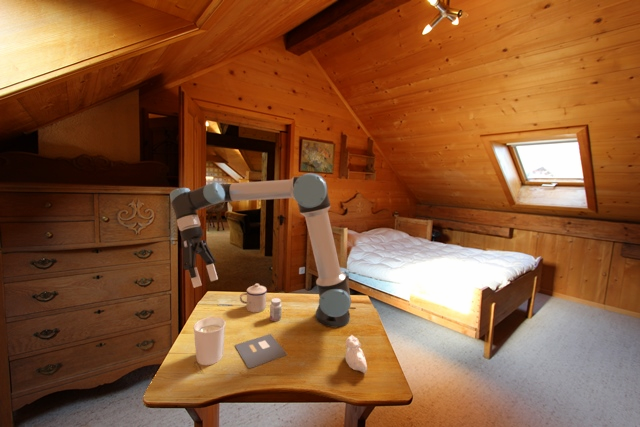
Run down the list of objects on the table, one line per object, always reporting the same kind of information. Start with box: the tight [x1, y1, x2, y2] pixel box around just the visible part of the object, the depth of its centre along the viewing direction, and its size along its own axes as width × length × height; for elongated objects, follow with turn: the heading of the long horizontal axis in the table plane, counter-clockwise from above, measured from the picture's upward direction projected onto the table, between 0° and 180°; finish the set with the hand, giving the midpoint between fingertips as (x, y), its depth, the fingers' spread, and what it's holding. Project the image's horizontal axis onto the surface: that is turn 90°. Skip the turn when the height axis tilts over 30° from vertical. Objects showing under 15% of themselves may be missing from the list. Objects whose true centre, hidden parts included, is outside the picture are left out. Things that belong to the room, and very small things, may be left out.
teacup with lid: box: [239, 283, 268, 313], centre depth 128 cm, size 12×9×12 cm
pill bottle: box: [269, 297, 282, 322], centre depth 121 cm, size 5×5×8 cm
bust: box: [344, 334, 368, 374], centre depth 94 cm, size 12×8×11 cm
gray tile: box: [234, 333, 289, 370], centre depth 100 cm, size 14×14×1 cm
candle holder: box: [193, 316, 226, 366], centre depth 94 cm, size 10×10×12 cm
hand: (206, 283), depth 103 cm, fingers open, 13 cm apart
